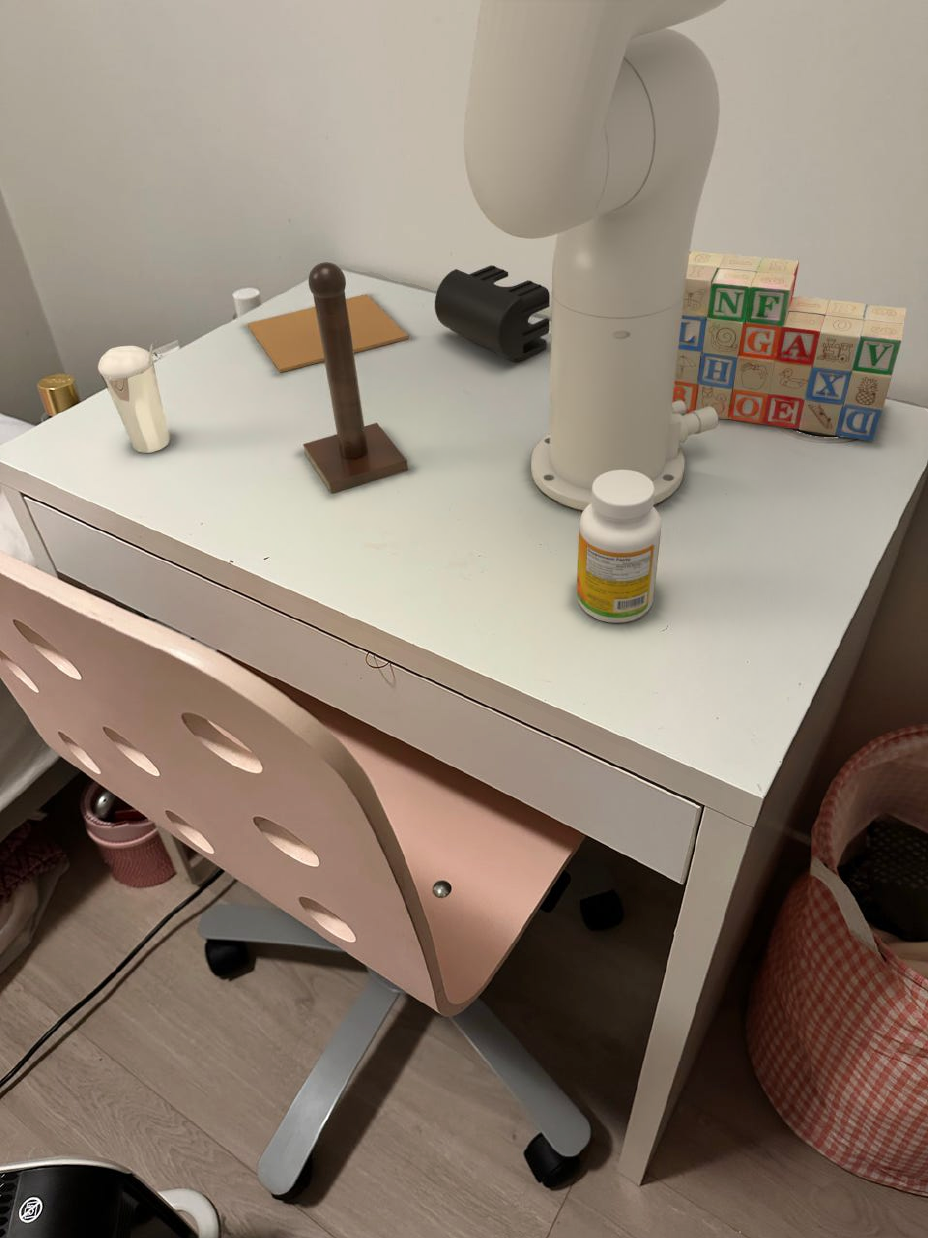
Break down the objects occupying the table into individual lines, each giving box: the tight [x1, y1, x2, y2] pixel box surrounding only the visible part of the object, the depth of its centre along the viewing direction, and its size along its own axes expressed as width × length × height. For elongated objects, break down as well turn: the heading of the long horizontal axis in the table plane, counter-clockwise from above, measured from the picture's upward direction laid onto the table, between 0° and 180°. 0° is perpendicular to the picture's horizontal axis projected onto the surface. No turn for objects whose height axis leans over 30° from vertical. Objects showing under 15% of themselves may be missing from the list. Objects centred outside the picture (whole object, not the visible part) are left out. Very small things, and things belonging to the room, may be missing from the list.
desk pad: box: [247, 293, 409, 373], centre depth 99 cm, size 14×12×1 cm
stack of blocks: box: [672, 250, 907, 442], centre depth 80 cm, size 21×6×12 cm, turn 67°
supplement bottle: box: [576, 470, 662, 624], centre depth 63 cm, size 5×5×10 cm
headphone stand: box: [302, 261, 409, 494], centre depth 75 cm, size 7×7×17 cm
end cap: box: [434, 264, 551, 362], centre depth 93 cm, size 10×7×7 cm
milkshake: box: [97, 341, 171, 454], centre depth 81 cm, size 4×5×10 cm
